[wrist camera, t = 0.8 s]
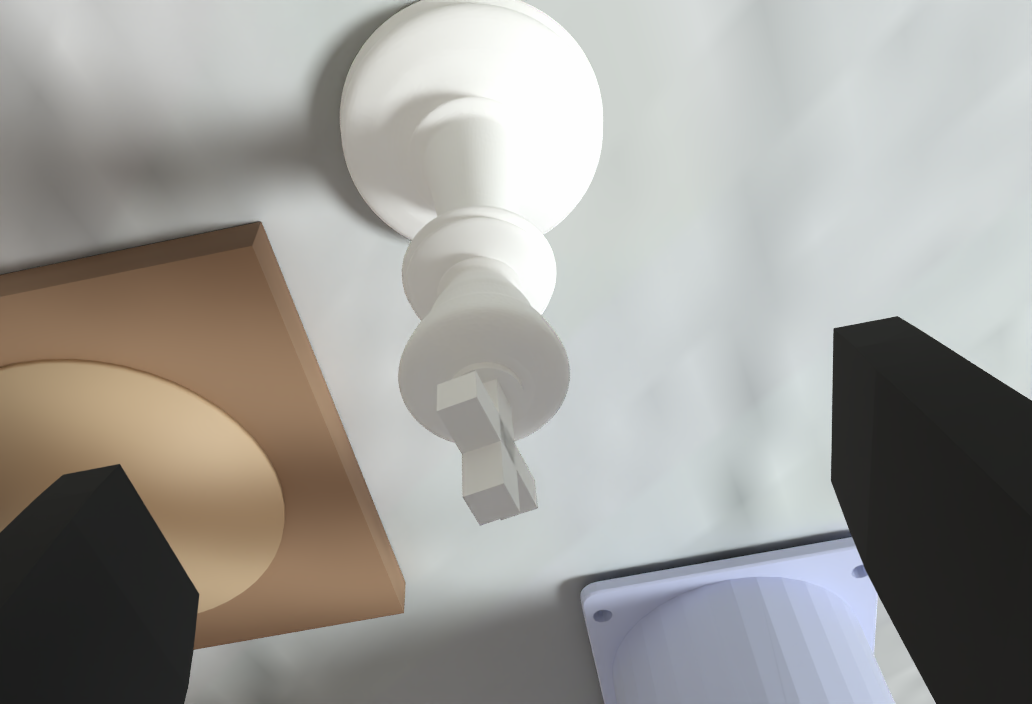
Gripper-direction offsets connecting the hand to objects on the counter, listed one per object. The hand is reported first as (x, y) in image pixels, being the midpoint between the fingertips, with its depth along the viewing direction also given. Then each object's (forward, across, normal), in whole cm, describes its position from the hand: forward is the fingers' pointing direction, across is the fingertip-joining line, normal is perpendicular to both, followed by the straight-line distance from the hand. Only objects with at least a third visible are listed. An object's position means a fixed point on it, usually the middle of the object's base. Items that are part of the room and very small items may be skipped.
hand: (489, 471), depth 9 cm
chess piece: (+10, 0, 0) cm, 10 cm away
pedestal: (+10, +10, +6) cm, 15 cm away
